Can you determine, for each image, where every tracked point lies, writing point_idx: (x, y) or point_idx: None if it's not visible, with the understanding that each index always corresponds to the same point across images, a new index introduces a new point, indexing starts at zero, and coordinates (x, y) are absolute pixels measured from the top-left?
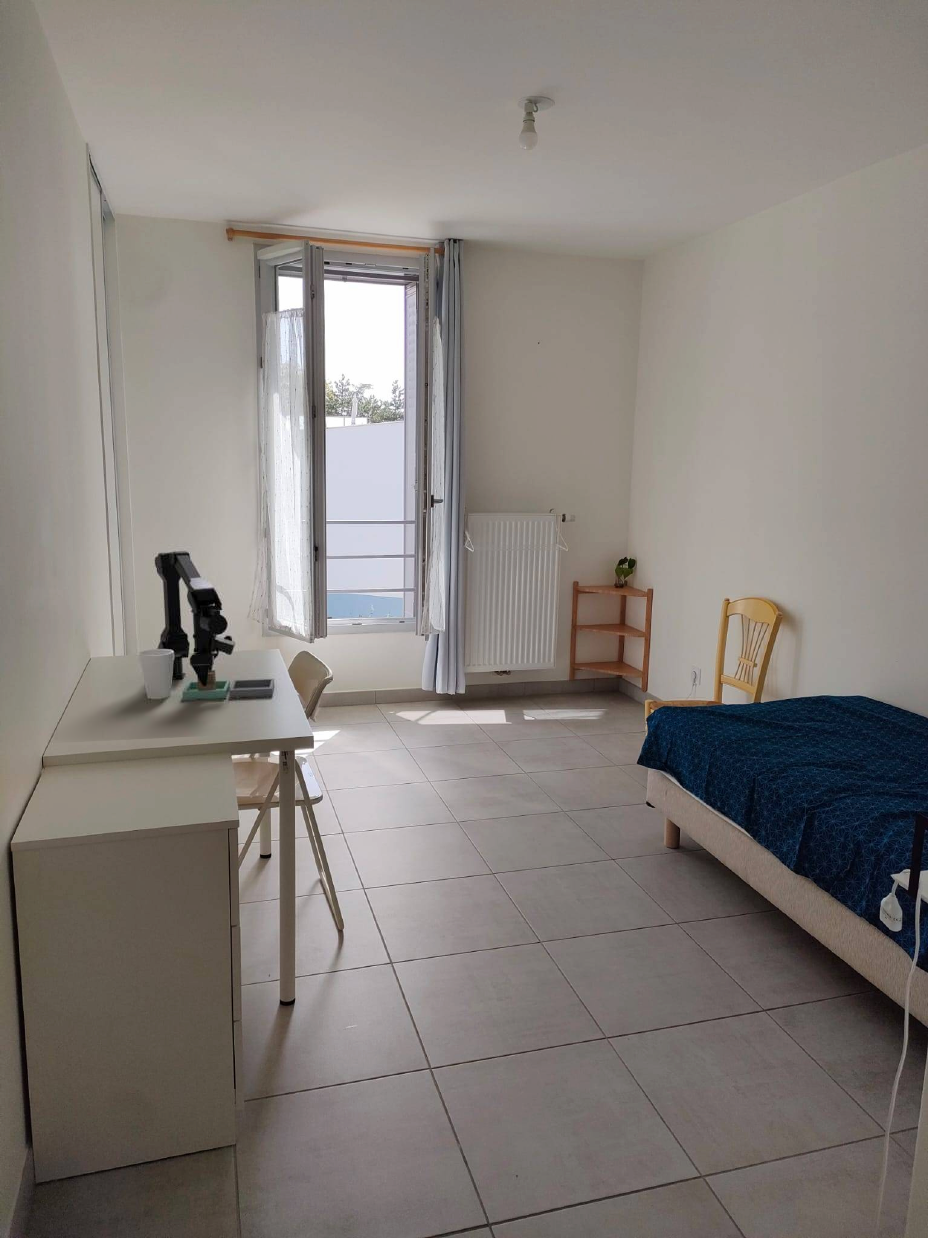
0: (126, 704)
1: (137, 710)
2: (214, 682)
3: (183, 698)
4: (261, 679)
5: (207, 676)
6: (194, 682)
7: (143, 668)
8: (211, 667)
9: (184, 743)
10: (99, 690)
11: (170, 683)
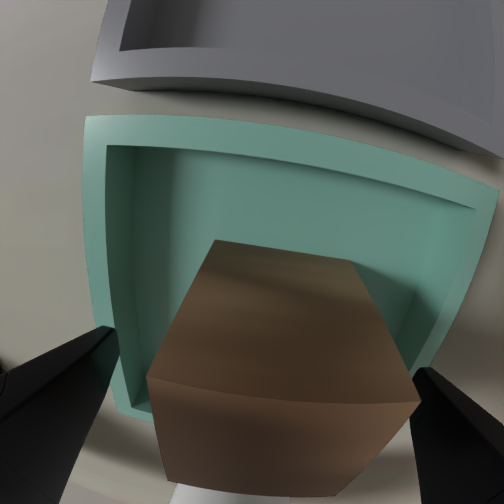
0: (314, 497)
1: (401, 473)
2: (312, 301)
3: None
4: None
5: (497, 420)
6: (129, 393)
7: None
8: (44, 396)
9: None
10: (142, 500)
11: (256, 496)
